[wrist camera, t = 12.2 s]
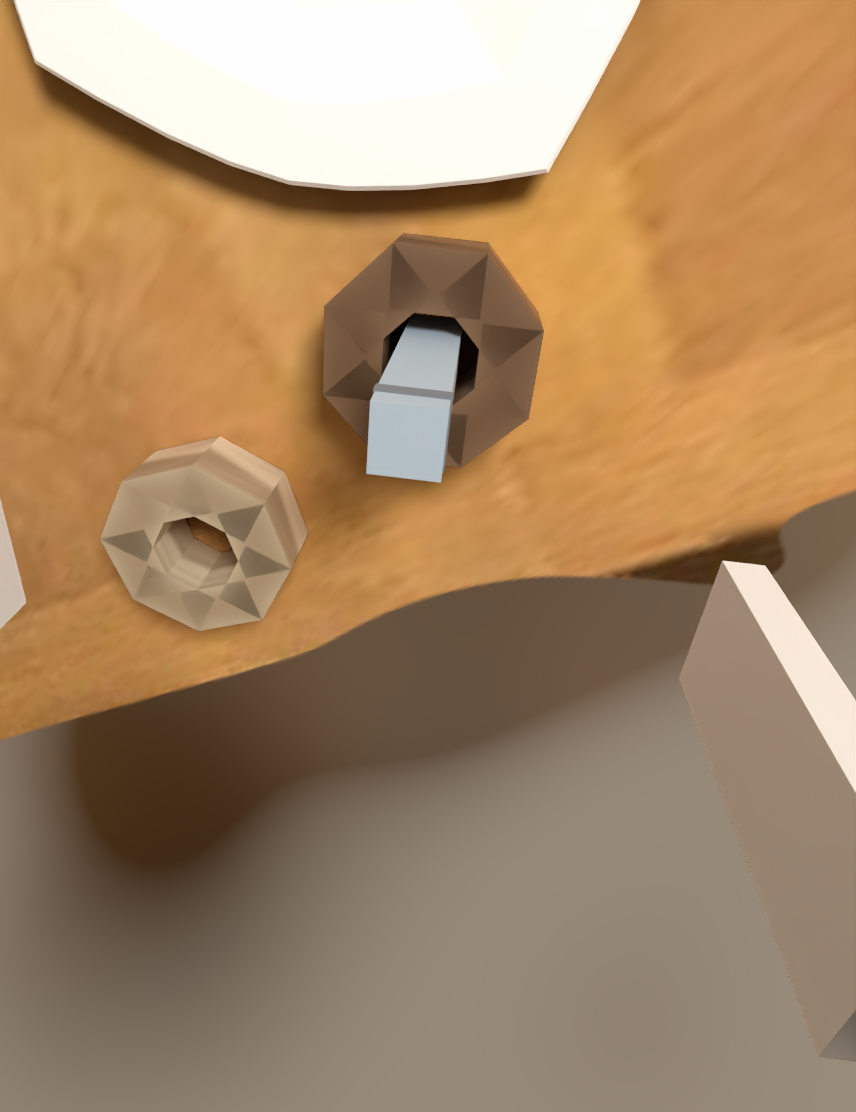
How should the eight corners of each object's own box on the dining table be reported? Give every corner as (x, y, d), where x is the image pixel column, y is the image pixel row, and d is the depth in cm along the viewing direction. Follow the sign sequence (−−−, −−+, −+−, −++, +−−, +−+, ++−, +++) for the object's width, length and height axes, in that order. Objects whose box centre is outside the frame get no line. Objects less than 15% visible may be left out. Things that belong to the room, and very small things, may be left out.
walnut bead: (338, 422, 32) (322, 451, 29) (343, 226, 28) (325, 235, 25) (515, 443, 32) (518, 474, 29) (548, 249, 28) (556, 261, 25)
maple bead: (182, 599, 38) (155, 638, 35) (111, 461, 34) (74, 492, 31) (323, 572, 36) (308, 611, 33) (266, 425, 32) (243, 453, 29)
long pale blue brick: (411, 312, 29) (368, 398, 19) (464, 318, 29) (451, 408, 19) (406, 366, 31) (364, 475, 20) (458, 372, 31) (442, 484, 20)
